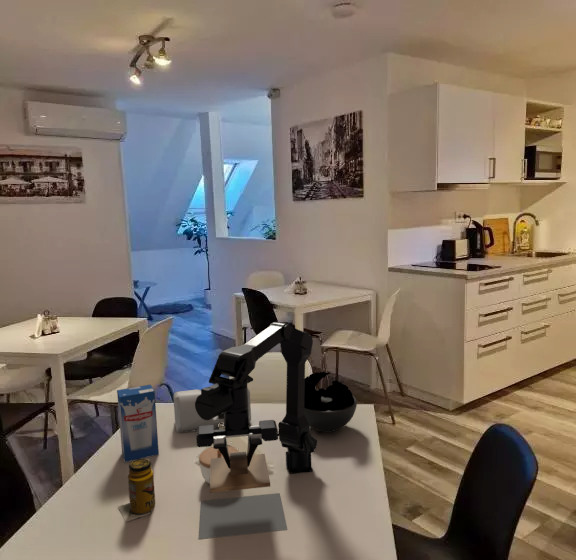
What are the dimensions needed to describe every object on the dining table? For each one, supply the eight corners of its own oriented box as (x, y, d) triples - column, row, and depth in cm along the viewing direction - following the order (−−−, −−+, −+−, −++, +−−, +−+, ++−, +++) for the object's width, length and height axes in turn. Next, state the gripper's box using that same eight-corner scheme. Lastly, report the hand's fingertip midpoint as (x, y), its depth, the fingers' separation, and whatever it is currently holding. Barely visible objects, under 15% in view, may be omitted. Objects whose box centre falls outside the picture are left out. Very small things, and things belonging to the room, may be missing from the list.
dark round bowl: (296, 416, 179) (295, 364, 176) (354, 416, 178) (353, 363, 175) (295, 443, 159) (293, 385, 156) (360, 443, 158) (359, 384, 155)
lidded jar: (208, 497, 131) (206, 463, 130) (195, 477, 140) (193, 445, 139) (246, 485, 136) (245, 452, 134) (232, 467, 145) (230, 436, 144)
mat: (279, 494, 131) (279, 492, 131) (287, 531, 117) (287, 529, 116) (200, 502, 129) (200, 500, 129) (198, 541, 114) (198, 539, 114)
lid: (264, 457, 129) (264, 440, 129) (270, 486, 116) (269, 468, 116) (210, 462, 128) (209, 445, 127) (210, 492, 114) (209, 474, 114)
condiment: (161, 510, 126) (157, 464, 124) (126, 522, 122) (122, 475, 120) (151, 496, 132) (148, 452, 130) (117, 507, 128) (114, 462, 126)
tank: (177, 442, 162) (174, 405, 160) (175, 422, 177) (172, 387, 175) (255, 431, 168) (253, 395, 166) (246, 412, 183) (245, 379, 181)
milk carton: (155, 445, 160) (150, 384, 157) (159, 454, 154) (154, 390, 151) (121, 453, 155) (116, 390, 152) (124, 462, 150) (119, 397, 147)
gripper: (272, 388, 128) (274, 447, 131) (196, 394, 126) (199, 454, 128) (277, 406, 117) (279, 469, 120) (194, 413, 115) (198, 477, 117)
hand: (238, 466), depth 122 cm, fingers closed on lid, 4 cm apart
